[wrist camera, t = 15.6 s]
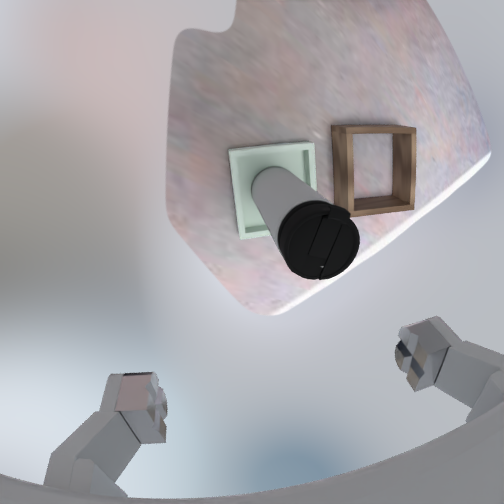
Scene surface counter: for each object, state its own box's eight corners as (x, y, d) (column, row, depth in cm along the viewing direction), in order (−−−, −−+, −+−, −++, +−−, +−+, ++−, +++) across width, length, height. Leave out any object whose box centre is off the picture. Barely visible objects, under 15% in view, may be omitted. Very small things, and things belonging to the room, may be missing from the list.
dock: (227, 149, 39) (229, 151, 37) (308, 141, 40) (314, 143, 38) (238, 232, 44) (240, 239, 42) (312, 222, 45) (317, 228, 43)
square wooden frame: (331, 125, 39) (346, 127, 35) (396, 124, 40) (416, 127, 36) (334, 206, 44) (348, 217, 40) (396, 199, 45) (414, 209, 41)
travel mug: (303, 171, 41) (376, 219, 23) (288, 216, 44) (344, 293, 26) (259, 157, 40) (303, 197, 22) (244, 205, 42) (274, 280, 24)
